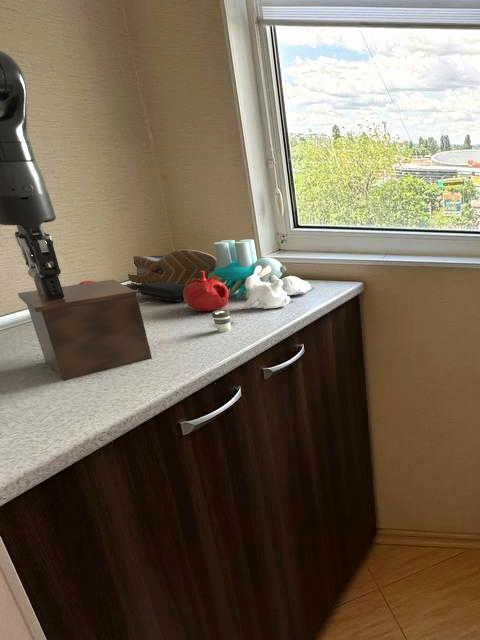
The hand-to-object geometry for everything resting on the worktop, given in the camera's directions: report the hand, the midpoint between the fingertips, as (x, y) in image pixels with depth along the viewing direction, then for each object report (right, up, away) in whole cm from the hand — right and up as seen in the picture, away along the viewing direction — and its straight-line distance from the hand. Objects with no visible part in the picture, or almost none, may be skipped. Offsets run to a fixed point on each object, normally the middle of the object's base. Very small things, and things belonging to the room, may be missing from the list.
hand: (52, 295), depth 88 cm
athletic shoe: (-16, +14, +55) cm, 59 cm away
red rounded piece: (-20, +8, +34) cm, 40 cm away
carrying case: (-16, +9, +51) cm, 54 cm away
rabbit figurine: (+20, +3, +42) cm, 46 cm away
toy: (+11, +20, +47) cm, 52 cm away
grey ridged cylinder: (+17, -5, +24) cm, 30 cm away
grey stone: (+23, +7, +51) cm, 57 cm away
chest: (+2, -12, +8) cm, 14 cm away
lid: (+2, 0, +3) cm, 4 cm away
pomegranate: (+6, +2, +39) cm, 39 cm away
